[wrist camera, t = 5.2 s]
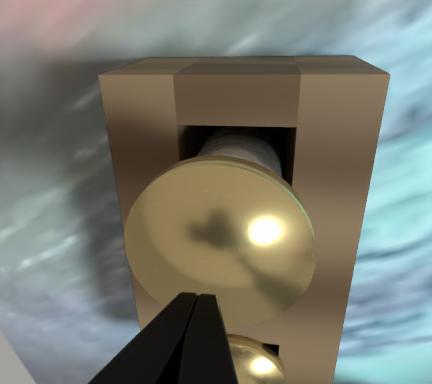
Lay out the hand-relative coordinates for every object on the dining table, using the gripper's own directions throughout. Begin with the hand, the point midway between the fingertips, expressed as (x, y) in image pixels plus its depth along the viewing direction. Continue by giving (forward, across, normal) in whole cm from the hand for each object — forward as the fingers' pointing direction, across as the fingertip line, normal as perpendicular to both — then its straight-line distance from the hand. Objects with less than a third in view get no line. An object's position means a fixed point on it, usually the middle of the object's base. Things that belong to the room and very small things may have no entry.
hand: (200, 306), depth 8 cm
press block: (+13, 0, +5) cm, 14 cm away
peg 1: (+9, 0, 0) cm, 9 cm away
